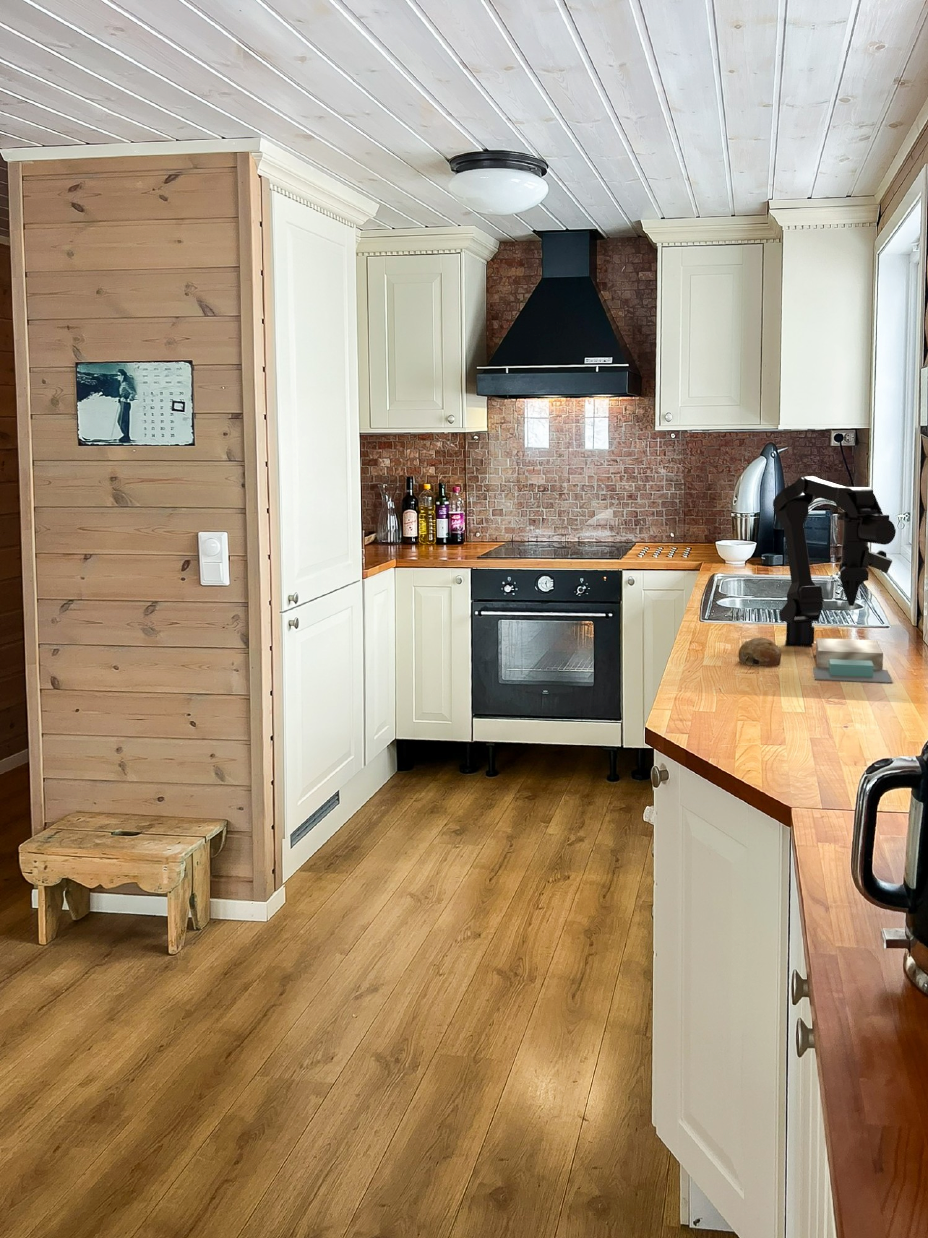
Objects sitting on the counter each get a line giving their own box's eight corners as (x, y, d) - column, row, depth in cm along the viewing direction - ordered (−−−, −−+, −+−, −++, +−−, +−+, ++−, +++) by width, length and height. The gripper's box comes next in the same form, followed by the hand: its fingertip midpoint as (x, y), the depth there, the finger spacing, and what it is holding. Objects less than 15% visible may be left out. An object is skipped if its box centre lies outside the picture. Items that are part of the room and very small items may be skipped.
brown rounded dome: (735, 678, 272) (732, 651, 268) (745, 654, 280) (742, 626, 276) (777, 682, 268) (775, 654, 264) (786, 657, 275) (784, 629, 271)
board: (817, 668, 265) (818, 650, 265) (815, 654, 283) (816, 638, 282) (882, 670, 262) (883, 653, 261) (876, 656, 279) (877, 640, 278)
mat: (814, 680, 252) (814, 678, 252) (813, 668, 265) (813, 666, 265) (892, 683, 248) (892, 682, 248) (887, 671, 261) (887, 669, 261)
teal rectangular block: (829, 659, 261) (829, 670, 261) (830, 664, 255) (830, 675, 256) (871, 660, 259) (871, 671, 259) (873, 665, 253) (872, 676, 253)
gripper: (893, 545, 263) (889, 613, 265) (888, 537, 280) (885, 601, 283) (842, 544, 266) (838, 611, 268) (840, 536, 283) (837, 599, 286)
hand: (851, 605), depth 276 cm, fingers closed
